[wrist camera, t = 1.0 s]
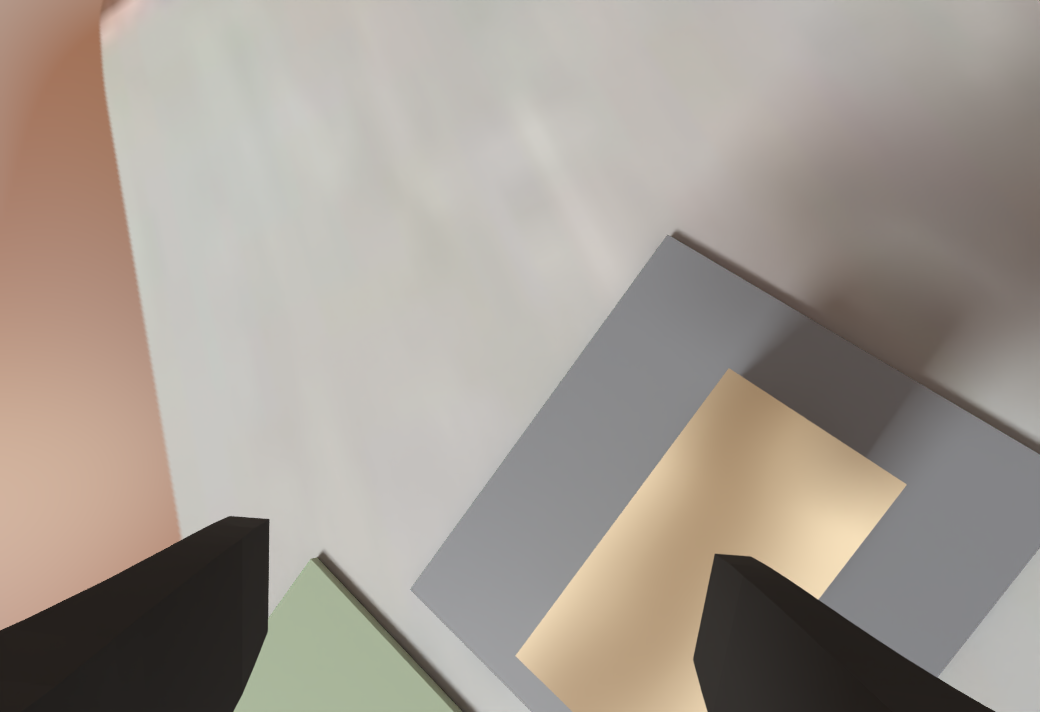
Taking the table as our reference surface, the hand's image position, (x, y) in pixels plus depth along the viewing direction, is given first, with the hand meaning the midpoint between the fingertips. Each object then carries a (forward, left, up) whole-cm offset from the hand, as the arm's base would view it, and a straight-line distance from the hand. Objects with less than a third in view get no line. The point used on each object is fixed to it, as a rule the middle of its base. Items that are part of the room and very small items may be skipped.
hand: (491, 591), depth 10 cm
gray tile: (-3, -1, -12) cm, 12 cm away
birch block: (-3, -1, -11) cm, 12 cm away
